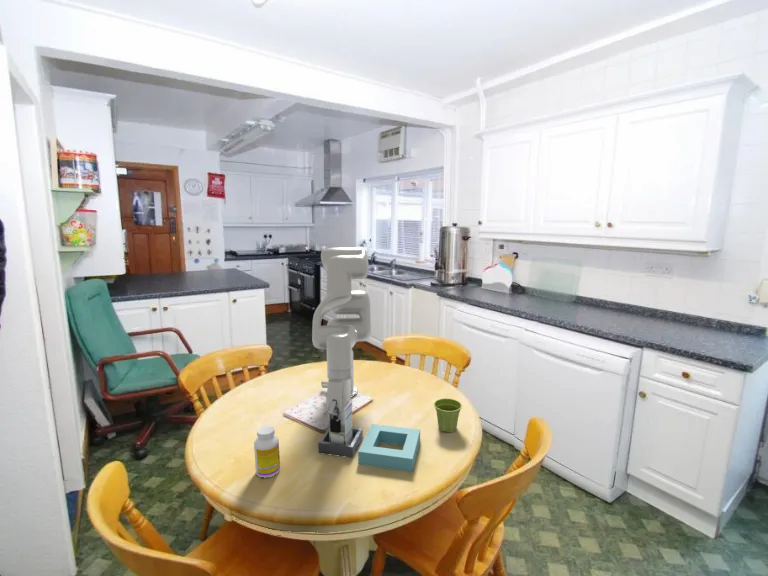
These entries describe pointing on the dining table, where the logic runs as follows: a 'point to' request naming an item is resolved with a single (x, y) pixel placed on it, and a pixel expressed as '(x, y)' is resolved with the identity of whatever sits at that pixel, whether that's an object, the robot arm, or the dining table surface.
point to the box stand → (341, 449)
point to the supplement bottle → (266, 452)
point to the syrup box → (343, 426)
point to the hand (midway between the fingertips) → (340, 424)
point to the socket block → (386, 456)
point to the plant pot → (447, 413)
